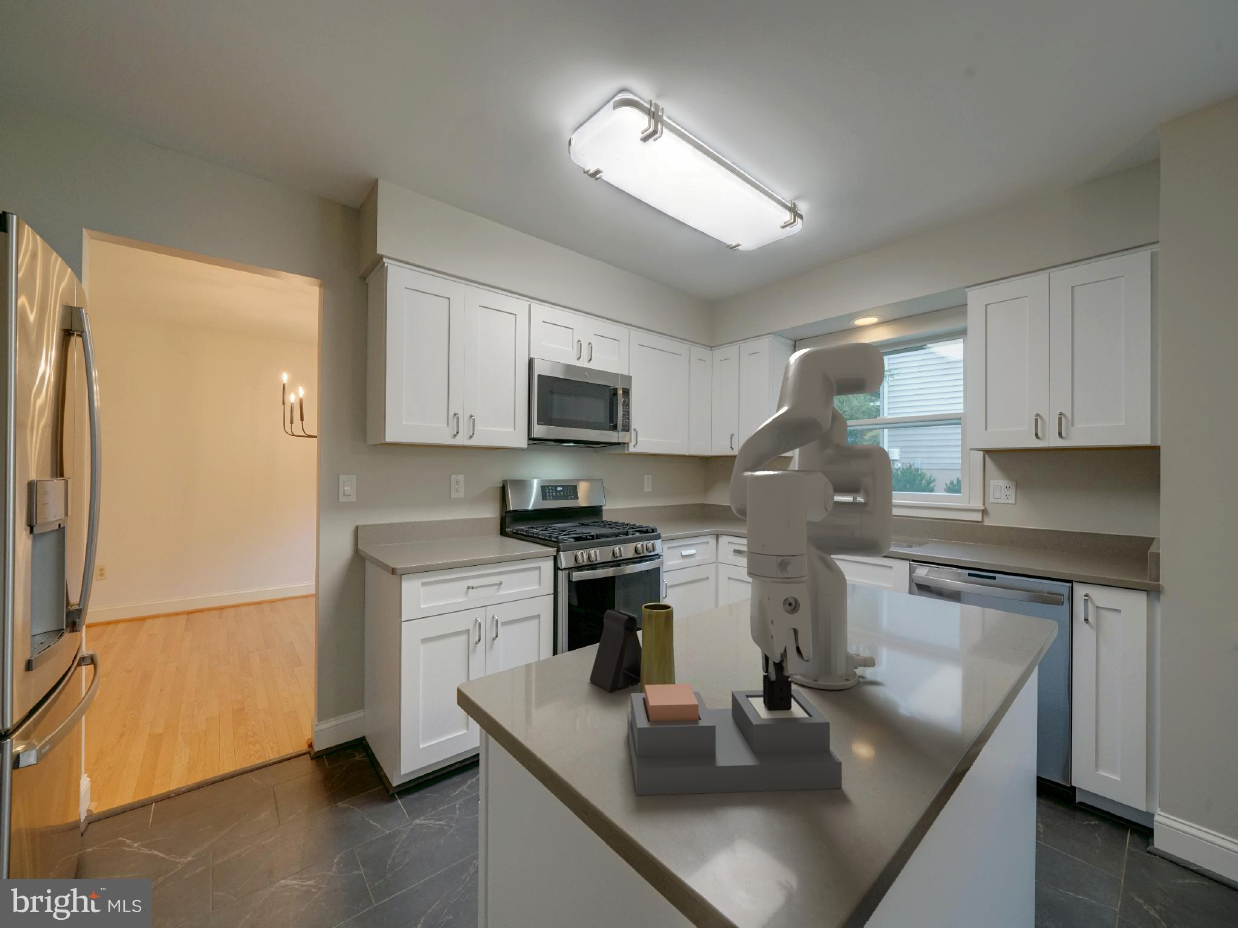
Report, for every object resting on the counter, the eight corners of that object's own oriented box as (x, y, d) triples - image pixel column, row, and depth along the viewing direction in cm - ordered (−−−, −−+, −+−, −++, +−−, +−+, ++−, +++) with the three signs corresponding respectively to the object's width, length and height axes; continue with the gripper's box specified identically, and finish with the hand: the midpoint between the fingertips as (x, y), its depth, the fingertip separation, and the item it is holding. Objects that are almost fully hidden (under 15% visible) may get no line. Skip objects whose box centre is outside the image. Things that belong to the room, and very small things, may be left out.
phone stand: (609, 693, 85) (609, 621, 85) (589, 681, 90) (589, 613, 90) (650, 680, 90) (650, 612, 90) (629, 669, 95) (629, 605, 95)
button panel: (793, 727, 73) (793, 682, 73) (841, 787, 59) (841, 731, 59) (627, 732, 72) (627, 686, 72) (636, 795, 58) (636, 737, 58)
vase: (665, 703, 81) (665, 613, 81) (632, 694, 84) (632, 608, 85) (682, 689, 86) (681, 605, 86) (650, 681, 89) (650, 600, 90)
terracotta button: (689, 706, 68) (689, 683, 69) (698, 728, 62) (698, 704, 63) (644, 707, 68) (644, 684, 68) (650, 729, 62) (650, 705, 62)
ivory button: (791, 718, 69) (790, 696, 69) (810, 742, 63) (810, 717, 63) (747, 720, 69) (747, 697, 69) (762, 743, 63) (762, 719, 63)
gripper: (831, 576, 59) (832, 736, 59) (783, 556, 74) (783, 683, 74) (768, 577, 59) (769, 738, 58) (732, 556, 74) (732, 684, 73)
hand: (777, 707), depth 66 cm, fingers closed
